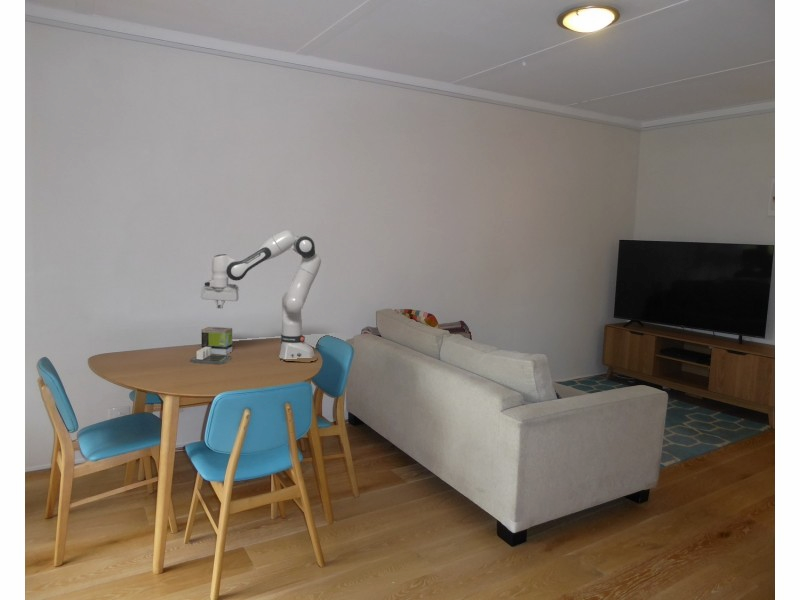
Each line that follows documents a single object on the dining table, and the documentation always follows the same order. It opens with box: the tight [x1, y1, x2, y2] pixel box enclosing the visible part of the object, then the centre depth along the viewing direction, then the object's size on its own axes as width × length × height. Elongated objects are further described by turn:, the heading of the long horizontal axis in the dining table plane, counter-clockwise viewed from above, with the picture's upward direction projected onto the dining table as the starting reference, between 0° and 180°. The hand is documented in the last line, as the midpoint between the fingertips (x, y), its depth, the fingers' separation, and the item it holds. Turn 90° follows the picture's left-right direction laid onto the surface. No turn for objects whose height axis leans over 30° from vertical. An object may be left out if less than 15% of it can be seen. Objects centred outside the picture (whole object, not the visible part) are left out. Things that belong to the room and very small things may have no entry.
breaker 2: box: [204, 347, 212, 356], centre depth 311 cm, size 4×3×4 cm
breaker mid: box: [199, 347, 208, 358], centre depth 306 cm, size 4×3×4 cm
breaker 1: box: [196, 349, 205, 360], centre depth 302 cm, size 4×3×4 cm
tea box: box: [200, 326, 233, 356], centre depth 325 cm, size 15×10×15 cm
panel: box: [189, 354, 232, 365], centre depth 307 cm, size 18×14×2 cm
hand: (219, 308), depth 307 cm, fingers closed
